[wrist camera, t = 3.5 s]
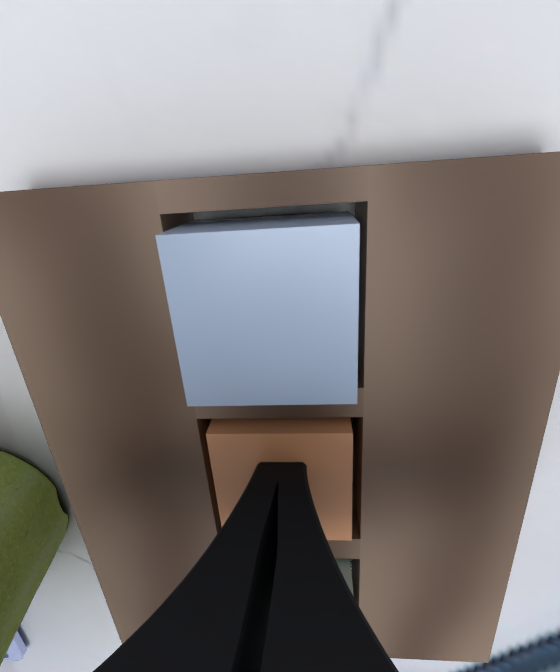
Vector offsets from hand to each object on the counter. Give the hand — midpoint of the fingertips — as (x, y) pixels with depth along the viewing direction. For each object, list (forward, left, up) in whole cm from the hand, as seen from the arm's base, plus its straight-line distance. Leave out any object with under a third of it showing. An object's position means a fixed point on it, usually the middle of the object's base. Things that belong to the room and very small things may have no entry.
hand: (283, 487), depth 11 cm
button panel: (0, 0, -3) cm, 3 cm away
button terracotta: (0, 0, -2) cm, 2 cm away
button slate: (0, +5, -1) cm, 6 cm away
